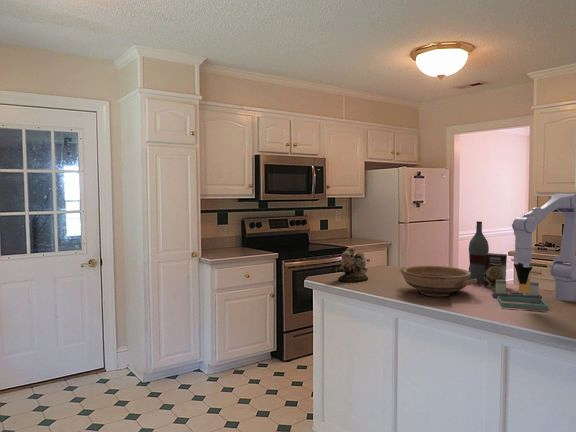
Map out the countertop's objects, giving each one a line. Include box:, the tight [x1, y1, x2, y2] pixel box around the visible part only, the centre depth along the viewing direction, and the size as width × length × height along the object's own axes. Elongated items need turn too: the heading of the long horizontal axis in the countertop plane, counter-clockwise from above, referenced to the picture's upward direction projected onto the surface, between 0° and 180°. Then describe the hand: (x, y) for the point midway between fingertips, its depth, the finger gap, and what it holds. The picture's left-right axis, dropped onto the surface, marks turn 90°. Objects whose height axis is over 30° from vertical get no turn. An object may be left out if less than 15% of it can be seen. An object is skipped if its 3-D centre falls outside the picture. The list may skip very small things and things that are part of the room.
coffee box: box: [483, 252, 508, 289], centre depth 212 cm, size 9×6×16 cm
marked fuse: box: [518, 274, 531, 294], centre depth 178 cm, size 4×2×7 cm, turn 73°
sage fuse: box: [495, 279, 507, 294], centre depth 192 cm, size 4×2×7 cm, turn 73°
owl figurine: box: [337, 246, 369, 284], centre depth 233 cm, size 18×12×17 cm, turn 126°
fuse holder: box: [491, 290, 543, 300], centre depth 190 cm, size 18×7×3 cm, turn 73°
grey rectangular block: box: [527, 280, 540, 296], centre depth 188 cm, size 4×2×7 cm, turn 73°
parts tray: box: [496, 296, 549, 313], centre depth 179 cm, size 16×11×2 cm
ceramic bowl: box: [399, 265, 477, 297], centre depth 203 cm, size 37×29×10 cm
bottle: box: [468, 220, 490, 285], centre depth 227 cm, size 9×9×30 cm
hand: (522, 283), depth 179 cm, fingers closed on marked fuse, 2 cm apart
